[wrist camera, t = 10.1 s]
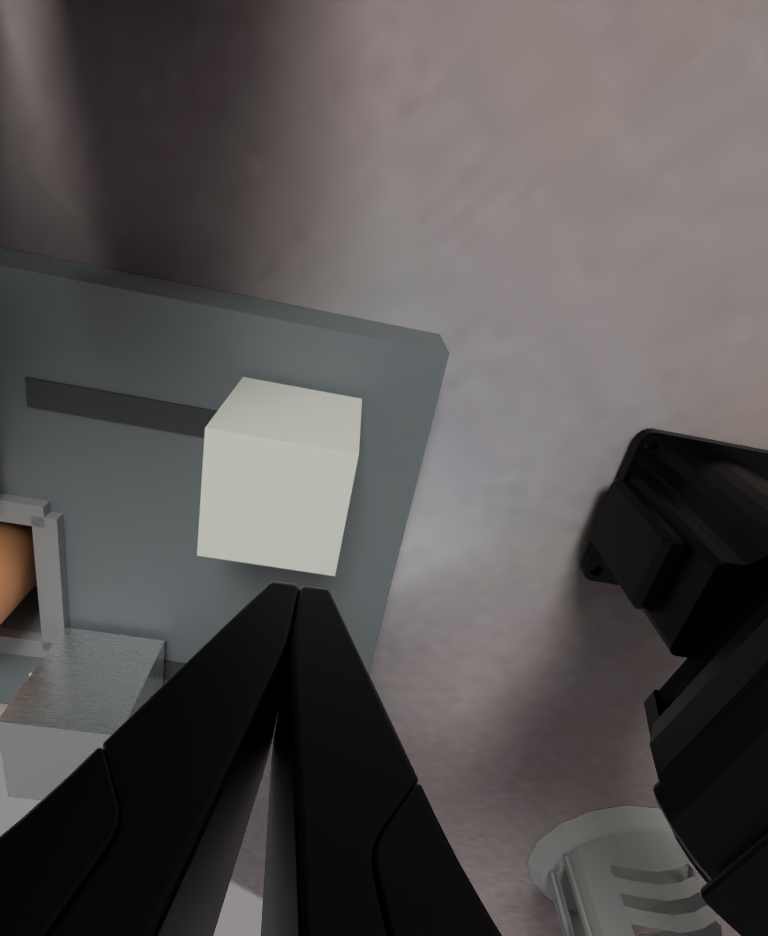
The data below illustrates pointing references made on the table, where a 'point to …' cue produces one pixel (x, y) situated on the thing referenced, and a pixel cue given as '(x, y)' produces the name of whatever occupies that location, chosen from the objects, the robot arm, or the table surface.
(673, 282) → the table surface
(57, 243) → the table surface
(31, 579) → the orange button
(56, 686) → the grey slider
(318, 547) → the white slider
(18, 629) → the panel
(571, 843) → the french press
